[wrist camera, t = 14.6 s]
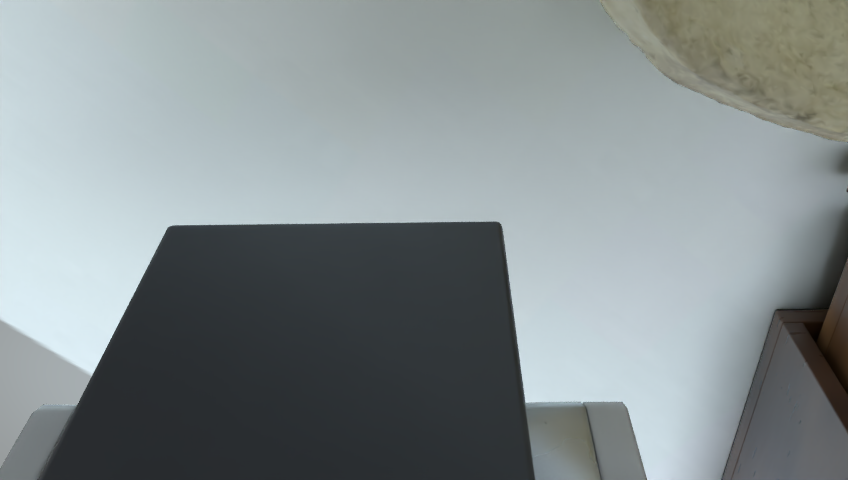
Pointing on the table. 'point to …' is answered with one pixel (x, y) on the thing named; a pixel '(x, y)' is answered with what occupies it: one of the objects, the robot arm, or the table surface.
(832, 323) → the drawer
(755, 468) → the cabinet
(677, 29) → the bowl
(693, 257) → the table surface
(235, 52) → the table surface
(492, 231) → the block
